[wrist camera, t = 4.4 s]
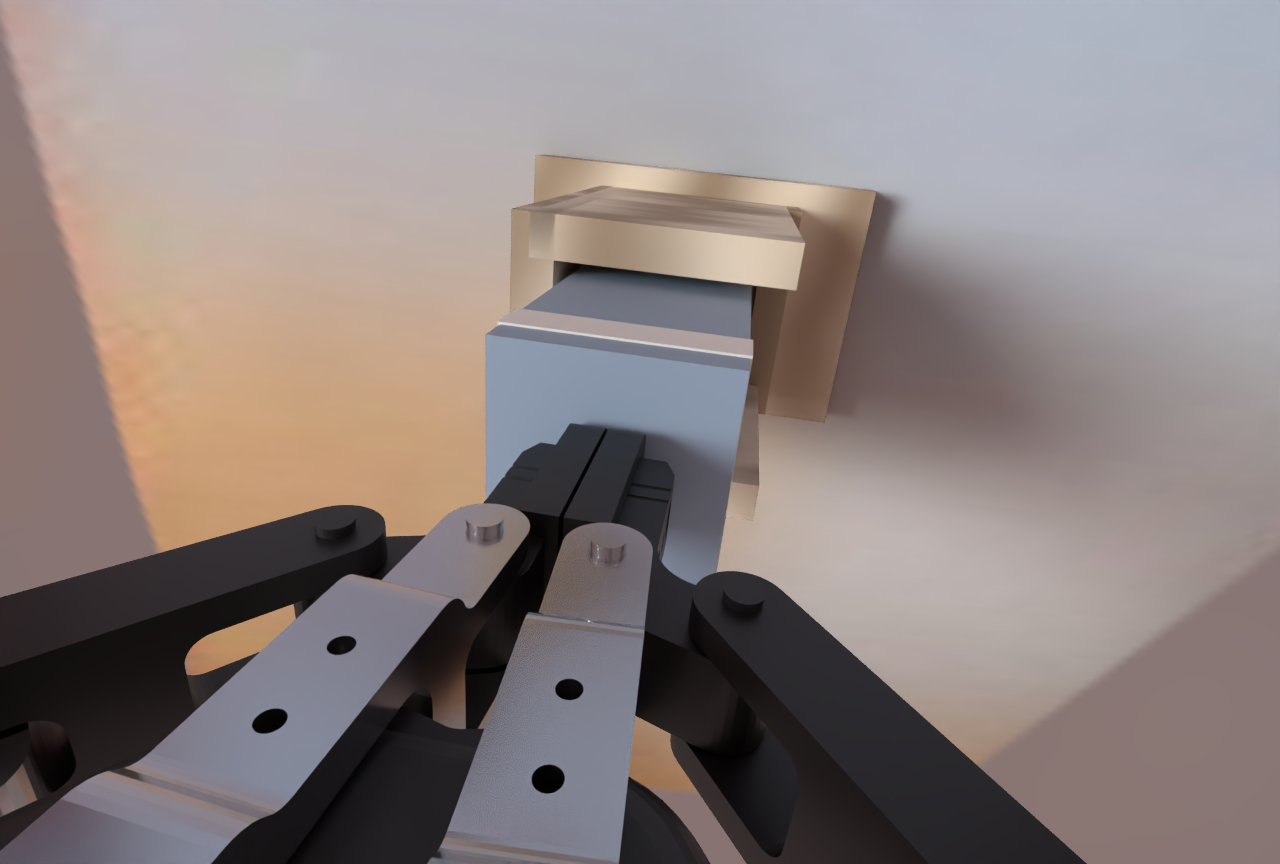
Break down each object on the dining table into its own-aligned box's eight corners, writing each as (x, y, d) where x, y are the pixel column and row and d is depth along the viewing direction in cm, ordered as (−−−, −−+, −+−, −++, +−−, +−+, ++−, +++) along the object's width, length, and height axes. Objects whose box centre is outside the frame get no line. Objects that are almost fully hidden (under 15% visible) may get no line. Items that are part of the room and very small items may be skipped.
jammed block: (753, 254, 25) (753, 369, 12) (733, 383, 27) (714, 596, 14) (619, 238, 25) (482, 332, 13) (609, 365, 27) (483, 556, 15)
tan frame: (871, 190, 28) (954, 221, 16) (821, 412, 32) (860, 564, 20) (543, 154, 29) (406, 160, 18) (536, 371, 33) (421, 491, 22)
